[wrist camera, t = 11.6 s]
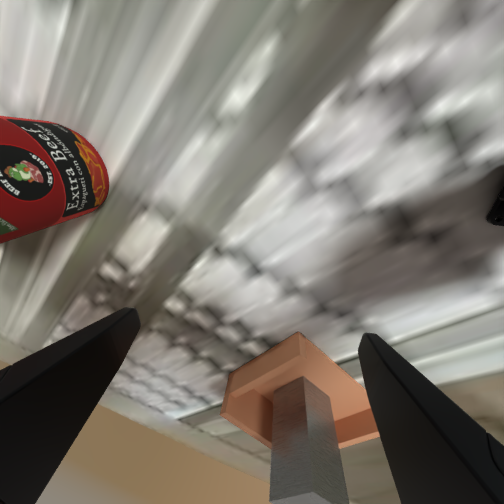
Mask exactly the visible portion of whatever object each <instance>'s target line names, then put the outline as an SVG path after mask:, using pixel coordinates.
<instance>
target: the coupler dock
mask: <svg viewBox="0 0 504 504" xmlns="http://www.w3.org/2000/svg"><path fill="white" fill-rule="evenodd" d="M302 376H304V377H305V378H307V379H308V380H309V381H310V382H312V383H313V384H314V385H315V386H317V387H318V388H319V389H320V390H322V391H323V392H324V393H325V394H327V395H328V396H329V397H330V402H331V407H332V412H333V418H334V423H335V429H336V434H337V440H338V445H339V449H340V448H343V447H347V446H350V445H353V444H357V443H360V442H363V441H367V440H370V439H373V438H376V437H380V435H379V432H378V429H377V426H376V422H375V419H374V416H373V413H372V410H371V407H370V404H369V400H368V397H367V392H366V389H365V388H363V387H362V386H361V385H360V384H359V383H358V382H356V381H355V380H354V379H353V378H352V377H351V376H349V375H348V374H347V373H346V372H345V371H344V370H342V369H341V368H340V367H339V366H338V365H337V364H336V363H334V362H333V361H332V360H331V359H330V358H329V357H327V356H326V355H325V354H324V353H323V352H322V351H320V350H319V349H318V348H317V347H316V346H315V345H314V344H312V343H311V342H310V341H309V340H308V339H307V338H305V337H304V336H303V335H302V334H301V333H300V332H297V333H295V334H294V335H292V336H290V337H289V338H287V339H286V340H284V341H282V342H281V343H279V344H277V345H276V346H274V347H272V348H271V349H269V350H268V351H266V352H264V353H263V354H261V355H259V356H258V357H256V358H255V359H253V360H251V361H250V362H248V363H246V364H245V365H243V366H241V367H240V368H238V369H237V370H235V371H233V372H232V373H230V374H229V379H228V383H227V387H226V391H225V395H224V399H223V404H222V408H221V412H220V415H221V416H222V417H224V418H225V419H227V420H228V421H230V422H231V423H233V424H234V425H236V426H237V427H239V428H240V429H242V430H243V431H245V432H246V433H248V434H249V435H251V436H252V437H254V438H255V439H257V440H258V441H260V442H261V443H263V444H264V445H266V446H267V447H269V448H270V449H271V448H272V423H273V398H274V390H276V389H278V388H280V387H282V386H284V385H286V384H288V383H290V382H292V381H294V380H296V379H298V378H300V377H302Z"/></svg>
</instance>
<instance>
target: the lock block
mask: <svg viewBox="0 0 504 504" xmlns="http://www.w3.org/2000/svg"><path fill="white" fill-rule="evenodd" d="M269 501H270V502H271V503H273V504H349V499H348V494H347V488H346V483H345V478H344V472H343V467H342V461H341V456H340V450H339V445H338V440H337V434H336V429H335V423H334V418H333V412H332V407H331V402H330V397H329V396H328V395H327V394H325V393H324V392H323V391H322V390H320V389H319V388H318V387H317V386H315V385H314V384H313V383H312V382H310V381H309V380H308V379H307V378H305V377H304V376H302V377H300V378H298V379H296V380H294V381H292V382H290V383H288V384H286V385H284V386H282V387H280V388H278V389H276V390H274V398H273V423H272V448H271V473H270V499H269Z"/></svg>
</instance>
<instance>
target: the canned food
mask: <svg viewBox="0 0 504 504" xmlns="http://www.w3.org/2000/svg"><path fill="white" fill-rule="evenodd" d="M108 190H109V177H108V173H107V169H106V167H105V165H104V162H103V160H102V158H101V157H100V155H99V154H98V152H97V151H96V150H95V148H94V147H93V146H92V145H91V144H90V143H89V142H88V141H87V140H86V139H85V138H84V137H82V136H81V135H80V134H78V133H77V132H75V131H73V130H71V129H69V128H66V127H64V126H62V125H59V124H57V123H53V122H49V121H41V120H32V119H23V118H14V117H6V116H0V244H1V243H4V242H7V241H9V240H12V239H15V238H18V237H21V236H24V235H27V234H30V233H33V232H36V231H38V230H41V229H44V228H47V227H50V226H53V225H56V224H59V223H62V222H64V221H67V220H70V219H73V218H76V217H79V216H82V215H85V214H87V213H90V212H92V211H94V210H95V209H96V208H98V207H99V206H100V205H101V204H102V203H103V202H104V200H105V199H106V197H107V194H108Z"/></svg>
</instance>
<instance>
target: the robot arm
mask: <svg viewBox="0 0 504 504" xmlns="http://www.w3.org/2000/svg"><path fill="white" fill-rule="evenodd" d="M497 216H498V218H497V219H496V220H495V218H496V217H497ZM486 220H487V222H488V223H490V224H493V225H499V226H504V187H503V189H502V191H501V193H500V194H499V196H498V198H497V200H496V202H495V203H494V205H493V207H492V209H491V211H490V212H489V214H488V216H487V219H486ZM140 325H141V323H140V319H139V315H138V311H137V309H136V308H132V307H125V308H123V309H121V310H119V311H117V312H115V313H113V314H111V315H109V316H107V317H105V318H103V319H101V320H99V321H97V322H95V323H93V324H91V325H89V326H87V327H85V328H83V329H81V330H79V331H77V332H75V333H73V334H71V335H69V336H67V337H65V338H63V339H61V340H59V341H57V342H55V343H53V344H51V345H49V346H47V347H45V348H43V349H41V350H39V351H37V352H35V353H33V354H31V355H30V356H28V357H26V358H24V359H22V360H20V361H18V362H16V363H14V364H13V365H10V366H8V367H6V368H4V369H2V370H0V504H35V503H36V502H37V500H38V498H39V497H40V495H41V494H42V492H43V490H44V489H45V487H46V485H47V484H48V482H49V481H50V479H51V477H52V476H53V474H54V473H55V471H56V469H57V468H58V466H59V465H60V463H61V461H62V460H63V458H64V457H65V455H66V453H67V452H68V450H69V449H70V447H71V445H72V444H73V442H74V440H75V439H76V437H77V436H78V434H79V432H80V431H81V429H82V427H83V426H84V424H85V423H86V421H87V419H88V418H89V416H90V415H91V413H92V411H93V410H94V408H95V407H96V405H97V403H98V402H99V400H100V399H101V397H102V395H103V394H104V392H105V391H106V389H107V387H108V386H109V384H110V382H111V381H112V379H113V378H114V376H115V374H116V373H117V371H118V370H119V368H120V366H121V364H122V363H123V361H124V359H125V357H126V355H127V353H128V351H129V349H130V347H131V345H132V343H133V341H134V339H135V337H136V335H137V333H138V331H139V329H140ZM358 355H359V360H360V364H361V369H362V374H363V379H364V383H365V388H366V392H367V397H368V400H369V404H370V407H371V410H372V413H373V416H374V419H375V422H376V426H377V429H378V432H379V435H380V438H381V441H382V444H383V447H384V451H385V454H386V457H387V460H388V463H389V466H390V469H391V472H392V476H393V479H394V482H395V485H396V488H397V491H398V494H399V497H400V501H401V504H504V446H503V445H502V444H501V443H500V442H499V441H498V440H496V439H495V438H494V437H493V436H492V435H491V434H490V433H486V430H485V429H484V428H483V427H482V426H480V425H479V424H478V423H477V422H476V421H475V420H474V419H473V418H471V417H470V416H469V415H468V414H467V413H466V412H465V411H463V410H462V409H461V408H460V407H459V406H458V405H457V404H456V403H454V402H453V401H452V400H451V399H450V398H449V397H448V396H446V395H445V394H444V393H443V392H442V391H441V390H440V389H438V388H437V387H436V386H435V385H434V384H433V383H432V382H431V381H429V380H428V379H427V378H426V377H425V376H424V375H423V374H421V373H420V372H419V371H418V370H417V369H416V368H415V367H414V366H412V365H411V364H410V363H409V362H408V361H407V360H406V359H404V358H403V357H402V356H401V355H400V354H399V353H398V352H396V351H395V350H394V349H393V348H392V347H391V346H390V345H389V344H387V343H386V342H385V341H384V340H383V339H382V338H381V337H379V336H378V335H377V334H374V333H364V334H363V336H362V339H361V342H360V345H359V348H358Z"/></svg>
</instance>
